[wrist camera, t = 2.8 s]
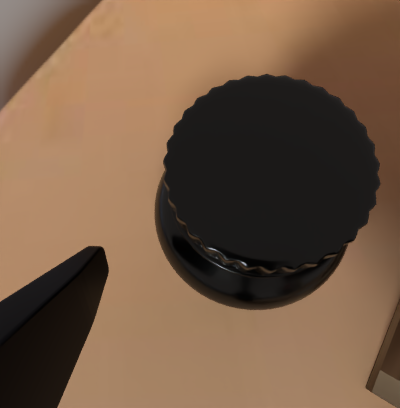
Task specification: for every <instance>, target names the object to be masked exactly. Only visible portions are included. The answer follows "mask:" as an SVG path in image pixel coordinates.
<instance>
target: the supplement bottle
mask: <svg viewBox="0 0 400 408" xmlns="http://www.w3.org/2000/svg"><path fill="white" fill-rule="evenodd" d="M167 151H168V152H167V154H166V156H165V158H164V160H163V164H164V168H165V171H164V173H163V175H162V177H161V180H160V183H159V186H158V189H157V193H156V200H155V225H156V231H157V235H158V239H159V242H160V245H161V247H162V250H163V252H164V254H165V256H166V258H167V260H168V261H169V263H170V264H171V266H172V267H173V269H174V270H175V271H176V273H177V274H178V275H179V276H180V277H181V278H182V279H183V280H184V281H185V282H186V283H187V284H188V285H189V286H191V287H192V288H193V289H194V290H196V291H197V292H199V293H200V294H201V295H203V296H205V297H207V298H209V299H210V300H213V301H215V302H217V303H220V304H223V305H226V306H229V307H234V308H238V309H247V310H266V309H274V308H279V307H283V306H286V305H289V304H292V303H294V302H297V301H299V300H301V299H303V298H305V297H306V296H308V295H310V294H311V293H313V292H314V291H315V290H317V289H318V288H319V287H320V286H322V285H323V284H324V283H325V282H326V281H327V280H328V279H329V277H330V276H331V275H332V274H333V273H334V271H335V270H336V268H337V267H338V265H339V264H340V262H341V260H342V258H343V256H344V254H345V251H346V249H347V246H348V244H349V243H351V242H353V241H354V240H355V238H356V235H357V232H358V230H359V229H361V228H362V227H363V226H365V225H366V224H367V223H368V218H369V211H370V210H372V209H373V207H374V206H375V205H376V191H377V189H378V188H379V186H380V180H379V177H378V174H377V173H378V170H379V165H380V163H379V161H378V159H377V158H376V156H375V154H374V153H375V145H374V143H373V142H372V141H371V140H370V139H369V137H368V136H367V130H366V127H365V126H364V125H363V124H362V123H360V122H359V121H358V120H357V117H356V115H355V113H354V111H353V110H351V109H349V108H348V107H346V106H344V104H343V103H342V101H341V100H340V98H338V97H336V96H333V95H330V94H329V93H328V92H327V91H326V90H325V89H324V88H323V87H318V86H313V85H311V84H310V83H309V82H307V81H305V80H294V79H292V78H290V77H288V76H286V75H285V76H277V77H275V76H272V75H268V74H265V75H261V76H258V77H255V76H246V77H244V78H242V79H240V80H229V81H228V82H226V83H225V84H224V85H223V86H218V87H214V88H212V89H211V90H210V91H209V93H208V94H207V95H204V96H201V97H199V98H197V100H196V101H195V103H194V105H193V106H192V107H190V108H188V109H187V110H185V111H184V114H183V117H182V119H181V120H180V121H179V122H178V123H177V124H176V125H175V126H174V130H173V135H172V136H171V138H170V139H169V140H168V142H167Z"/></svg>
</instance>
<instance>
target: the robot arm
mask: <svg viewBox="0 0 400 408" xmlns="http://www.w3.org/2000/svg"><path fill="white" fill-rule="evenodd" d="M108 272H109V267H108V263H107V259H106V255H105V251H104V249H103V247H101V246H88V247H86V248H85V249H83V250H81V251H80V252H78V253H77V254H75V255H74V256H72V257H70V258H69V259H67V260H66V261H64V262H62V263H61V264H59V265H58V266H56V267H55V268H53V269H51V270H50V271H48V272H47V273H45V274H43V275H42V276H40V277H39V278H37V279H36V280H34V281H32V282H31V283H29V284H28V285H26V286H24V287H23V288H21V289H20V290H18V291H17V292H15V293H13V294H12V295H10V296H9V297H7V298H5V299H4V300H2V301H1V302H0V408H57V407H58V405H59V402H60V400H61V398H62V395H63V393H64V391H65V388H66V386H67V384H68V381H69V379H70V377H71V374H72V372H73V369H74V367H75V365H76V362H77V360H78V358H79V355H80V353H81V351H82V348H83V346H84V344H85V341H86V339H87V336H88V334H89V332H90V329H91V327H92V324H93V322H94V319H95V316H96V313H97V309H98V306H99V303H100V300H101V296H102V293H103V290H104V286H105V283H106V280H107V276H108Z"/></svg>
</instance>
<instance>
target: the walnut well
mask: <svg viewBox="0 0 400 408" xmlns="http://www.w3.org/2000/svg"><path fill="white" fill-rule="evenodd" d="M366 389H368V390H369V391H370V392H372V393H374V394H375V395H377V396H378V397H380V398H382V399H383V400H385V401H387V402H388V403H390V404H392V405H393V406H395V407H397V408H400V301H399V304H398V306H397V309H396V311H395V314H394V317H393V319H392V322H391V324H390V327H389V329H388V332H387V335H386V337H385V340H384V342H383V345H382V347H381V350H380V353H379V355H378V358H377V360H376V363H375V365H374V368H373V371H372V373H371V376H370V378H369V381H368V383H367V386H366Z"/></svg>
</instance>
